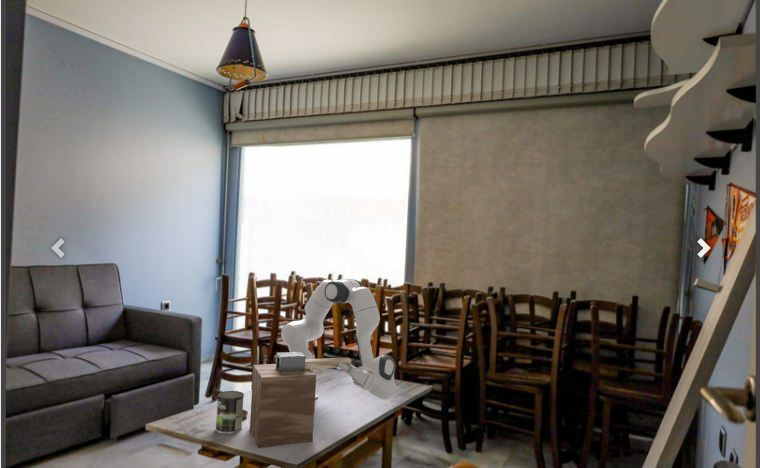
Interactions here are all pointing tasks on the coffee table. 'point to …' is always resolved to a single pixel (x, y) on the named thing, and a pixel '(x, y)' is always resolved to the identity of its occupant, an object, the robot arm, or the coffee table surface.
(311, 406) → the brown tall wooden box
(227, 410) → the coffee can
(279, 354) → the metal tunnel
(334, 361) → the beech bar
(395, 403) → the coffee table surface
